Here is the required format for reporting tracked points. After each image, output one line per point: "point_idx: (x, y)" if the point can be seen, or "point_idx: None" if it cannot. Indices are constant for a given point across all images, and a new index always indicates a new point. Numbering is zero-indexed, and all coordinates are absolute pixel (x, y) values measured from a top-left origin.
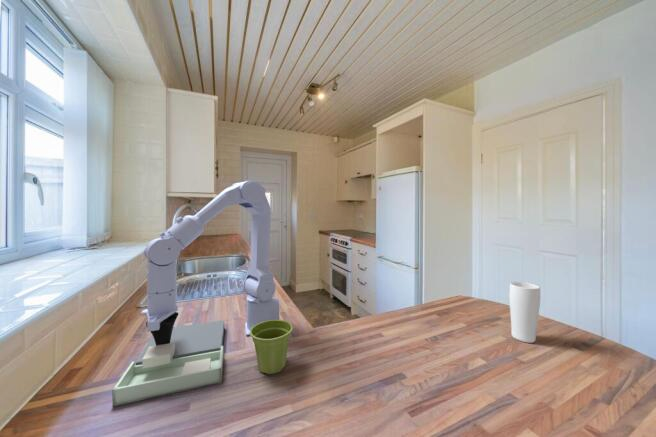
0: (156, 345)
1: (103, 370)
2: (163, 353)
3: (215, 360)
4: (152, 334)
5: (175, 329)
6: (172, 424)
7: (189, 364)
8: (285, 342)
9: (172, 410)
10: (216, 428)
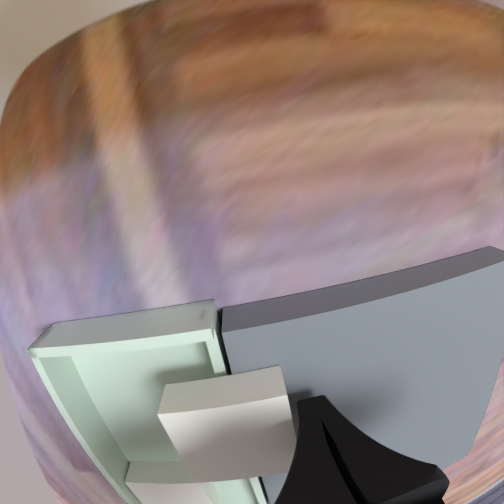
0: (299, 413)
1: (283, 134)
2: (204, 465)
3: (251, 498)
4: (291, 468)
5: (491, 338)
6: (42, 451)
7: (188, 491)
8: None
9: (69, 449)
10: (56, 492)
